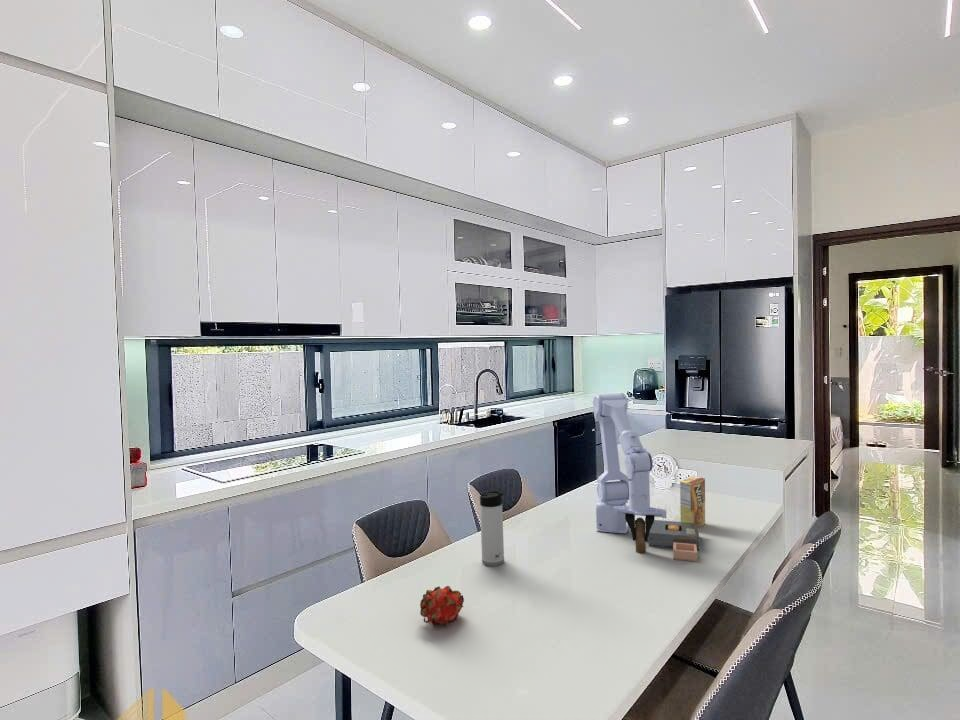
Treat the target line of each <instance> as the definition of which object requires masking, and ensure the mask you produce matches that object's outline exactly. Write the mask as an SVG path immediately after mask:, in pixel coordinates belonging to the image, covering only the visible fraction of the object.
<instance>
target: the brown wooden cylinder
mask: <svg viewBox="0 0 960 720" xmlns="http://www.w3.org/2000/svg"><path fill="white" fill-rule="evenodd" d="M645 533H646V528H645V519H644V518H642V517H637V518H635V539H636V540H635V553H637V554H646V552H647V549H646V547H647V544H646V543H647V542H645Z"/></svg>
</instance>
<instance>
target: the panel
mask: <svg viewBox="0 0 960 720" xmlns="http://www.w3.org/2000/svg"><path fill="white" fill-rule="evenodd" d="M669 525H676V526H678V527H679V531H674V530H668V526H669ZM673 542H676V543H687V544H696V546H697V552H698V551H699V552H700V551H701V550H700V532H699V527H698V523H688V522H681V521H675V520H663V519H662V520H660V519H654V522H653V524H652V527H651V529H650V532H649V536H648V547H656V548H657V547H658V548H668V549H673Z"/></svg>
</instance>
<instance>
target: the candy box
mask: <svg viewBox="0 0 960 720" xmlns="http://www.w3.org/2000/svg"><path fill="white" fill-rule="evenodd" d="M679 496H680V497H679V501H680V502H679V503H680V504H679V505H680V506H679V507H680V513H679V515H680V522H688V523H698V528H699V527H702V526H704V525H706V479H705V478H704V477H699V476H691V477H689V478H685V479H683V480H680V481H679Z"/></svg>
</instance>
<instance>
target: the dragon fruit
mask: <svg viewBox="0 0 960 720" xmlns="http://www.w3.org/2000/svg"><path fill="white" fill-rule="evenodd" d="M464 598H465V597H464V595H463V594H462V593H461V592H460V591H459V590H452V587H450V585H446V586H445V587H443V588H441V587H440V585H439V586H437V587H434V589H433V590H432V589H426V591H425V593H424V594H422V598H421V600H420V603H419V607H420V608H419V609H420V610H419V611H420V612H419V614H420V616H421V617H423V622H424V623H426V624H432V625H433V626H436V625H437V624H441V625H442V626H445V627H448V626H449V624H450V621H456V620H457V618H458V617H459V613H460V612H461V610H462V608H463V607H464V605H463V604H464V603H465V599H464ZM426 619H427V620H426Z"/></svg>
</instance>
